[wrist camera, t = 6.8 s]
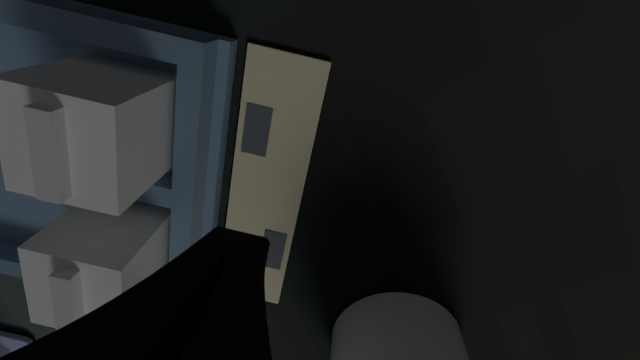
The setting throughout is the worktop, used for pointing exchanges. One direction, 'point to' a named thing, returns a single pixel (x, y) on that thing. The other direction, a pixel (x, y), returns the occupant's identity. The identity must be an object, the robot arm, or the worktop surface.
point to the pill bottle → (397, 330)
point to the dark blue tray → (185, 123)
